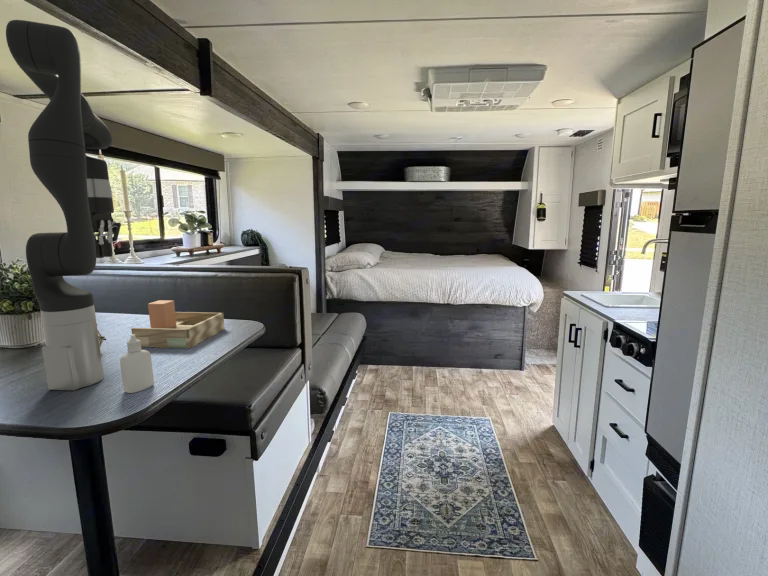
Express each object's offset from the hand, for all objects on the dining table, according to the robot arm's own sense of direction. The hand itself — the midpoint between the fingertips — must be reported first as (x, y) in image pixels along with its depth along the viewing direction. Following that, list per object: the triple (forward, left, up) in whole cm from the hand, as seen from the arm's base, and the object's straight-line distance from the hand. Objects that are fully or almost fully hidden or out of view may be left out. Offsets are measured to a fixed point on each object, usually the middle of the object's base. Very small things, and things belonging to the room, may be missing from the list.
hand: (104, 257), depth 116 cm
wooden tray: (+4, -19, -25) cm, 32 cm away
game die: (-13, -3, -25) cm, 29 cm away
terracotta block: (+4, -13, -22) cm, 26 cm away
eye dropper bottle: (-32, -32, -25) cm, 52 cm away
